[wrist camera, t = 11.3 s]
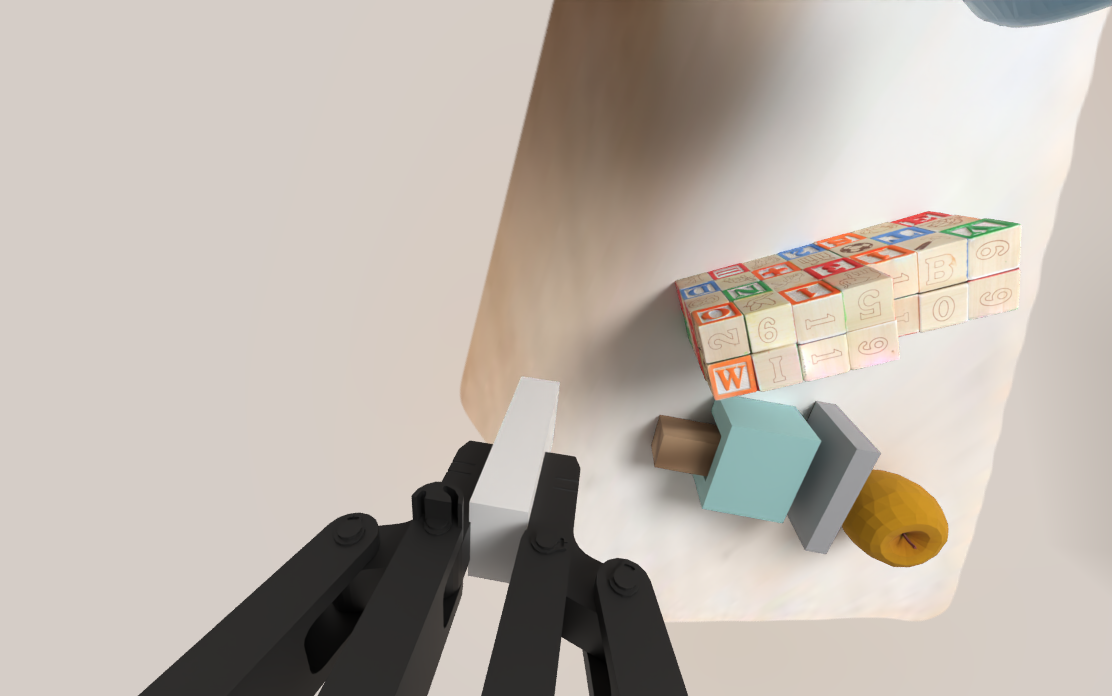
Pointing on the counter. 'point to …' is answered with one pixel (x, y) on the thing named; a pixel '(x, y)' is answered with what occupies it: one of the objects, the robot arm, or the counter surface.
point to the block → (757, 459)
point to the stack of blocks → (846, 299)
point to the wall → (831, 477)
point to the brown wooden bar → (685, 445)
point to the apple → (896, 521)
